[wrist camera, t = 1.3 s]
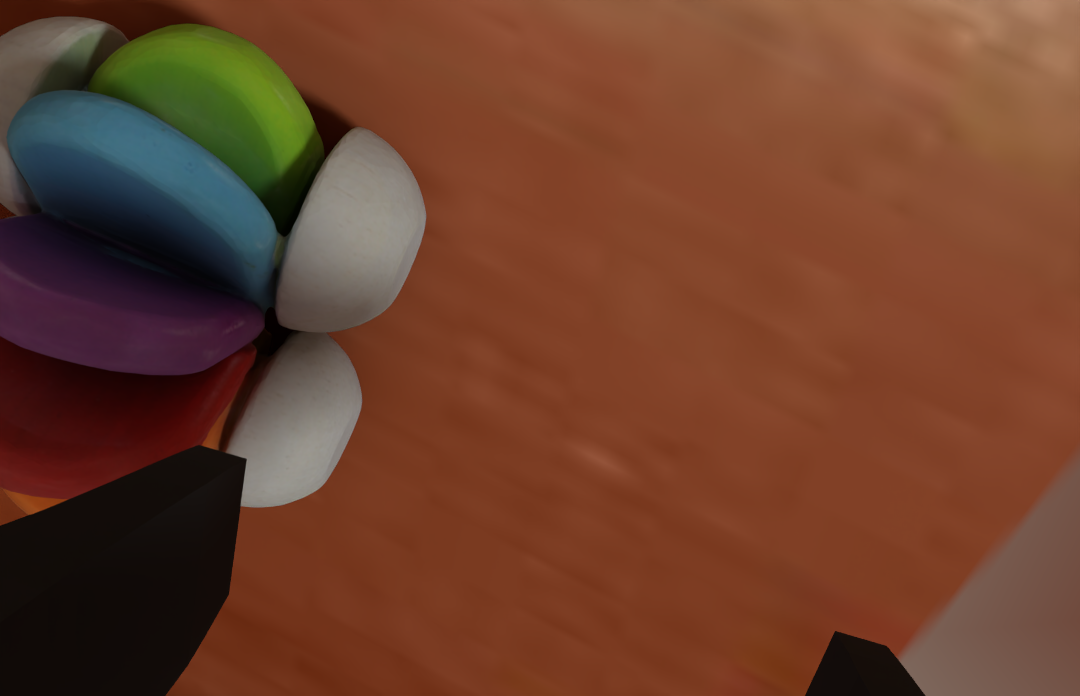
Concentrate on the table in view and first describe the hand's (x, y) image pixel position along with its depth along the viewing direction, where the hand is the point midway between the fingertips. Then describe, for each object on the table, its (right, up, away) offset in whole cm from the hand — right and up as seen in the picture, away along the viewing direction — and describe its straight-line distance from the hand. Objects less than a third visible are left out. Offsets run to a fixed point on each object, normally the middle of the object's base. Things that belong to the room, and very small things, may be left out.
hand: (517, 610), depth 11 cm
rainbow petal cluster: (-7, +5, +10) cm, 13 cm away
